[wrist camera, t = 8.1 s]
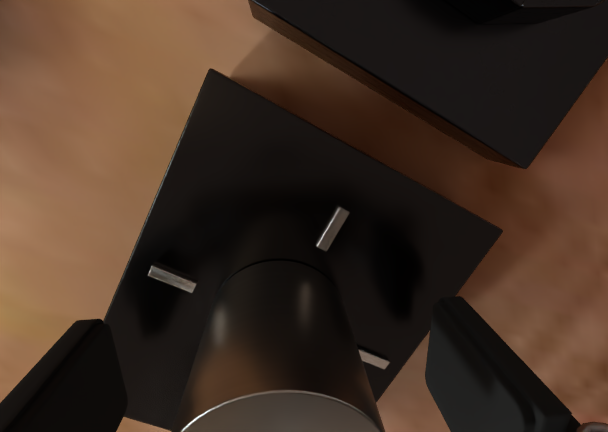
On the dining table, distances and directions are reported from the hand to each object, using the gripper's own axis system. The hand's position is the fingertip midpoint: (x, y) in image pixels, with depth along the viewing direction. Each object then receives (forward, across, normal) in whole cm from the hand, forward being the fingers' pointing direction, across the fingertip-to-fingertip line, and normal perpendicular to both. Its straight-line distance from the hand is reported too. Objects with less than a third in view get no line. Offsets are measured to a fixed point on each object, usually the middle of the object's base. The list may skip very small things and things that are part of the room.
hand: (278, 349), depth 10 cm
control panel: (+4, 0, 0) cm, 4 cm away
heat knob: (+1, 0, 0) cm, 1 cm away
